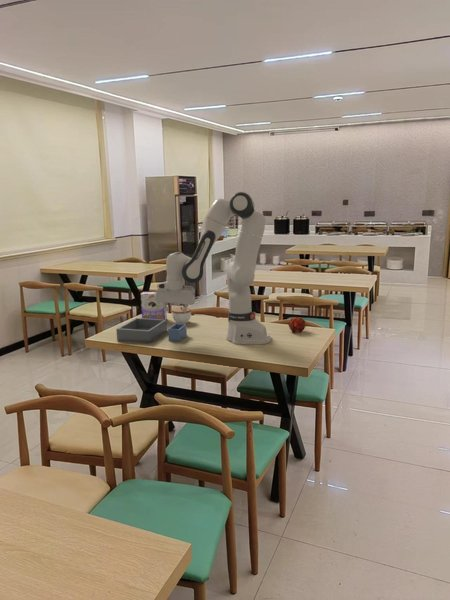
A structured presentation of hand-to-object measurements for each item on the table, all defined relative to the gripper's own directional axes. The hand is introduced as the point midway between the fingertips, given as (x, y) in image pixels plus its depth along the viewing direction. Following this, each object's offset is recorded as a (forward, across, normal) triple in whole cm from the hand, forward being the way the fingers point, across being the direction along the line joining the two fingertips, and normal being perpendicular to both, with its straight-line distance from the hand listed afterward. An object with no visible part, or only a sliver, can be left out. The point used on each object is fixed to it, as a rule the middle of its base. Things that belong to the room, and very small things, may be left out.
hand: (175, 311), depth 237 cm
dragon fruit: (+12, -58, -24) cm, 64 cm away
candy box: (+14, +26, -30) cm, 42 cm away
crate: (+14, +18, 0) cm, 23 cm away
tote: (+14, -1, 0) cm, 14 cm away
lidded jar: (+14, +8, -28) cm, 32 cm away
